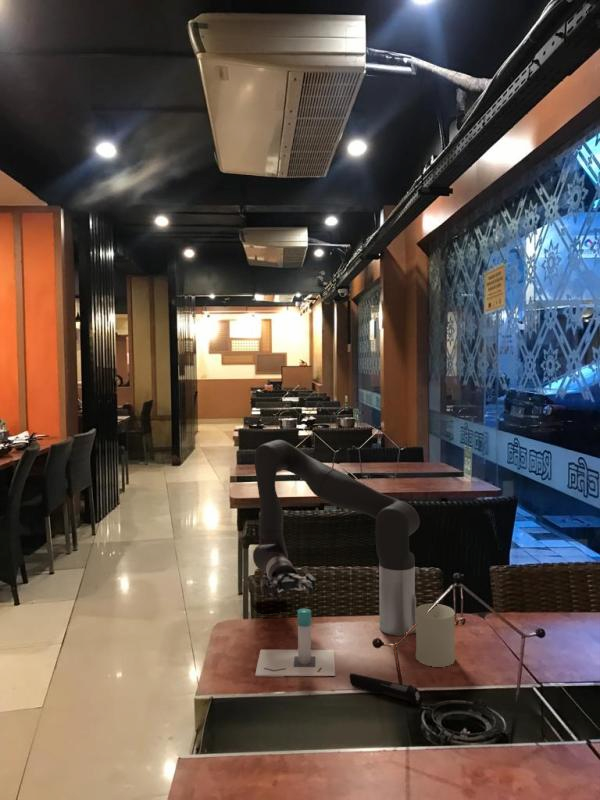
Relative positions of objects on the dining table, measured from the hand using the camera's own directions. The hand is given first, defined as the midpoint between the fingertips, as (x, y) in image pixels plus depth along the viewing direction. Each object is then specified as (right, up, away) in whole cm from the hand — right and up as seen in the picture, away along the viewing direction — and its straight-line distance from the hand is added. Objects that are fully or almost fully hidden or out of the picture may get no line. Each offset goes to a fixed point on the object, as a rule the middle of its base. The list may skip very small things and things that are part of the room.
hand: (293, 593), depth 153 cm
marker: (+3, -12, -11) cm, 17 cm away
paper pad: (+1, -13, -11) cm, 17 cm away
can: (+34, -13, -9) cm, 37 cm away
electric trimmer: (+20, -14, -24) cm, 34 cm away
